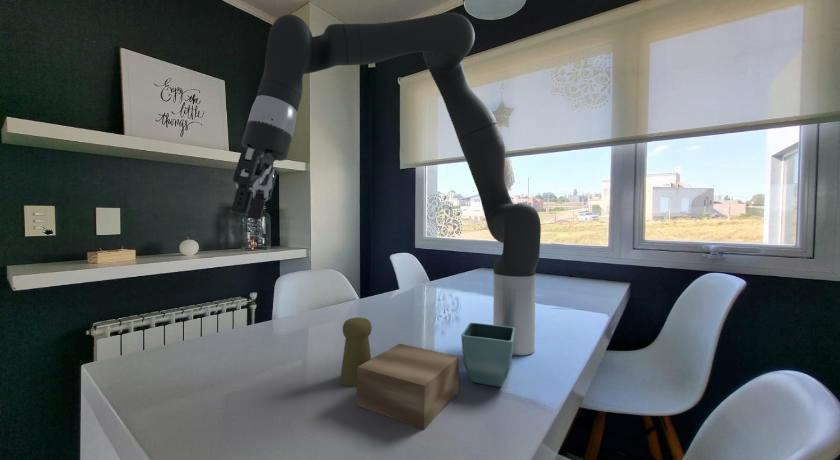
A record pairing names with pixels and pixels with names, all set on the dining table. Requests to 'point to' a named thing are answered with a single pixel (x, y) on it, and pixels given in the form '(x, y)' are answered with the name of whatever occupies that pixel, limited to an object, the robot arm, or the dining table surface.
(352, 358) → the cork
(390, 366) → the walnut block
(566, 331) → the dining table surface
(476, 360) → the flower pot
